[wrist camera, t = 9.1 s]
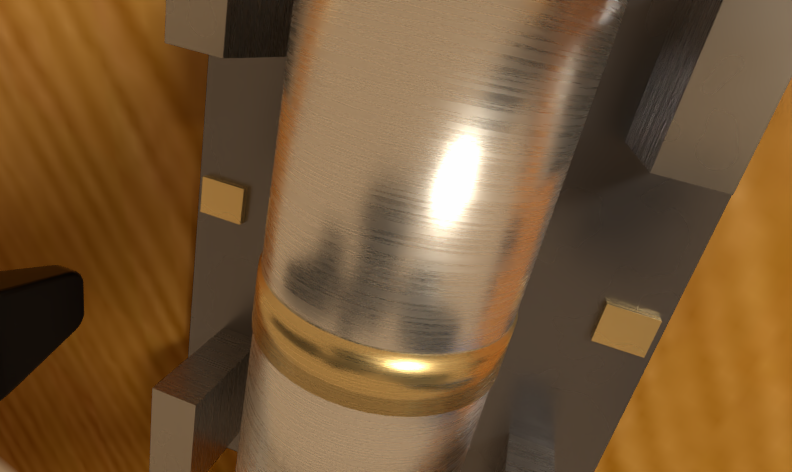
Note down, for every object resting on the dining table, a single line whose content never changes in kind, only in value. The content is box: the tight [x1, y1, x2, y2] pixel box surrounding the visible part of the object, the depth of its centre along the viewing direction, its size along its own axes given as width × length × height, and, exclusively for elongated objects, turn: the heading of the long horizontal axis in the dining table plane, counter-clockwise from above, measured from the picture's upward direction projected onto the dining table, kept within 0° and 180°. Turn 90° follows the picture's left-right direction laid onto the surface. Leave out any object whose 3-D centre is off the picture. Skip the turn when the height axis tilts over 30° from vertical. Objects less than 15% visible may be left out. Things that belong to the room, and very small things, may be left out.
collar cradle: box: [149, 0, 792, 472], centre depth 12 cm, size 12×17×4 cm
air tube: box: [235, 0, 629, 472], centre depth 10 cm, size 5×16×5 cm, turn 168°
